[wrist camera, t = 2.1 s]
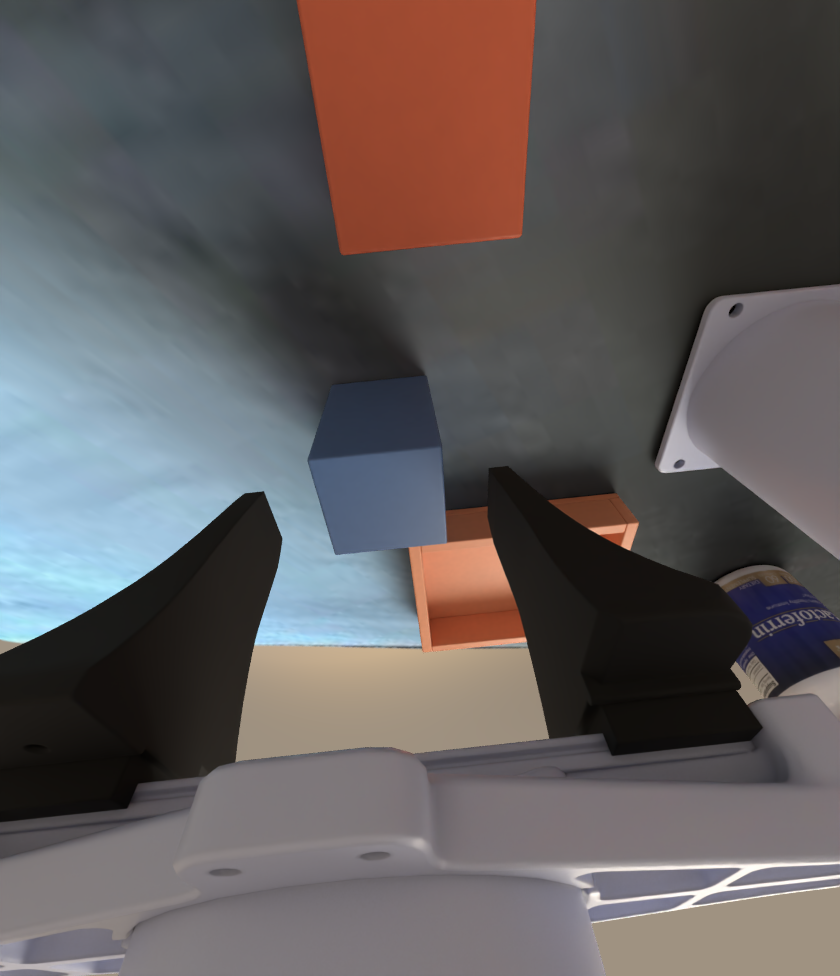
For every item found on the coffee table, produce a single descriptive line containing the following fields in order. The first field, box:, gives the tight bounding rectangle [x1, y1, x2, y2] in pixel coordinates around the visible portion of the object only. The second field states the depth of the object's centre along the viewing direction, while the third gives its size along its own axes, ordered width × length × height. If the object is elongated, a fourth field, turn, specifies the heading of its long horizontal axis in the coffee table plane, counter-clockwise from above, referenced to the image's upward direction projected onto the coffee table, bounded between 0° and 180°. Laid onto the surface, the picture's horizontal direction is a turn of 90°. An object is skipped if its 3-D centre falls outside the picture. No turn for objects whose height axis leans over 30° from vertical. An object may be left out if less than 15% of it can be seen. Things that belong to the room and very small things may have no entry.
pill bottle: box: [714, 565, 840, 721], centre depth 22 cm, size 6×6×10 cm
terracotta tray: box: [408, 493, 639, 652], centre depth 22 cm, size 11×9×2 cm
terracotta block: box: [297, 0, 536, 255], centre depth 10 cm, size 4×4×6 cm
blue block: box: [308, 376, 447, 555], centre depth 15 cm, size 4×4×6 cm
